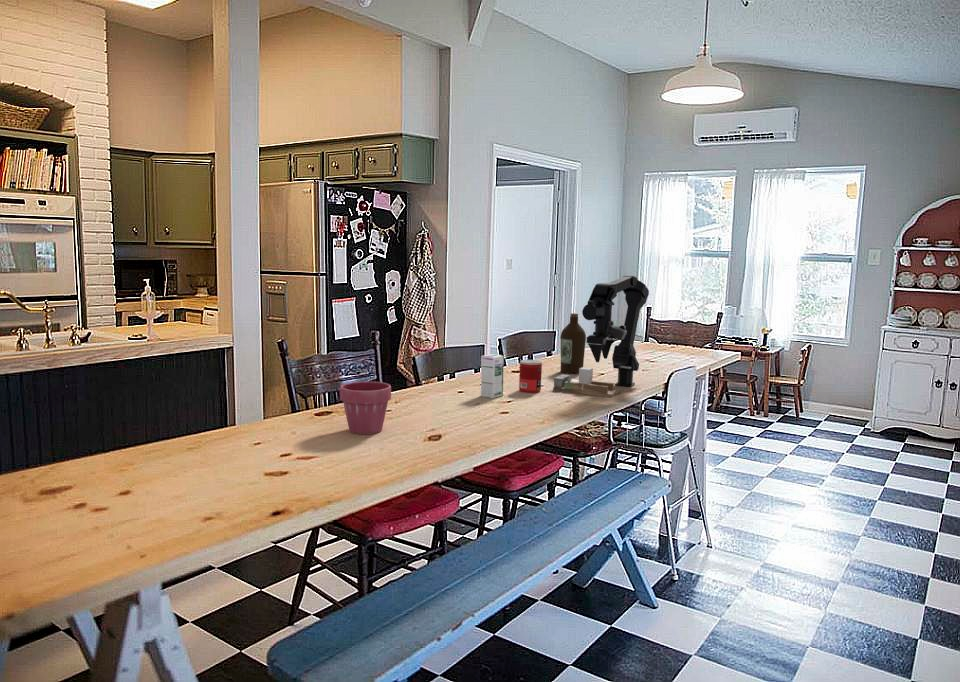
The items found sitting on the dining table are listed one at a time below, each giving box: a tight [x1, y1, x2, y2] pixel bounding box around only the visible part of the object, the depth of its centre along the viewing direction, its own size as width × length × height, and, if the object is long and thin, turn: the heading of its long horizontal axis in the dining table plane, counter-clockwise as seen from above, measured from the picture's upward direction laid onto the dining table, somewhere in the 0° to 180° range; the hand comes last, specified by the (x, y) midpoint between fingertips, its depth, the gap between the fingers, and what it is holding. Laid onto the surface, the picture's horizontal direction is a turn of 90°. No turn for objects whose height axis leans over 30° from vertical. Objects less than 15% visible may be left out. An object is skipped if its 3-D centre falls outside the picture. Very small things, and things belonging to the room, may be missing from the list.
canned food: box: [518, 359, 543, 394], centre depth 262 cm, size 8×8×11 cm
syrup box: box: [480, 353, 504, 399], centre depth 250 cm, size 6×6×14 cm
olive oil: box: [559, 312, 587, 375], centre depth 303 cm, size 11×11×25 cm
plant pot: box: [339, 381, 392, 435], centre depth 200 cm, size 14×14×13 cm
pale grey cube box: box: [566, 366, 594, 384], centre depth 264 cm, size 7×8×7 cm
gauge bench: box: [552, 373, 620, 398], centre depth 264 cm, size 11×22×4 cm, turn 64°
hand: (601, 360), depth 263 cm, fingers open, 9 cm apart
